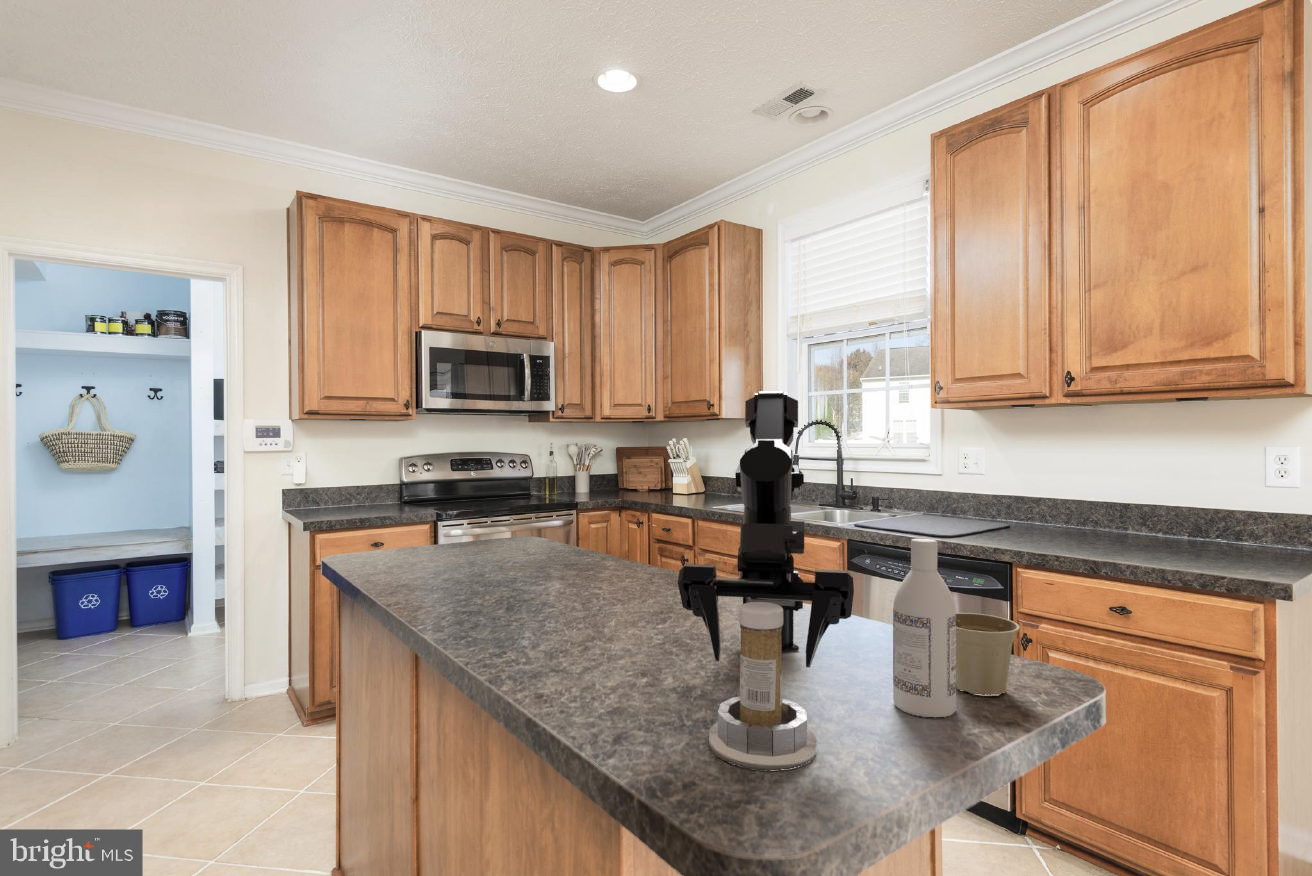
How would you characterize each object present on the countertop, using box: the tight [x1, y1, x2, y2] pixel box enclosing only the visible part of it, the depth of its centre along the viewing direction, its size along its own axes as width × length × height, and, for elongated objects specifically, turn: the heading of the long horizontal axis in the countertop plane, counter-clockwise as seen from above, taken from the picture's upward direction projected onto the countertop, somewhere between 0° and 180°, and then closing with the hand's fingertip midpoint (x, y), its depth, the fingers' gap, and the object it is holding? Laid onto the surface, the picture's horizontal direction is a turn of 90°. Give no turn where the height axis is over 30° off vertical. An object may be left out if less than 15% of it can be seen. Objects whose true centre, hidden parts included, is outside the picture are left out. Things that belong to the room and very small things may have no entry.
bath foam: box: [892, 538, 957, 719], centre depth 79 cm, size 7×7×20 cm
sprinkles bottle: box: [738, 602, 783, 726], centre depth 69 cm, size 5×5×14 cm
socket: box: [708, 696, 818, 772], centre depth 69 cm, size 11×11×4 cm
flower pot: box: [956, 612, 1021, 695], centre depth 85 cm, size 9×9×9 cm
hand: (761, 662), depth 68 cm, fingers open, 9 cm apart
